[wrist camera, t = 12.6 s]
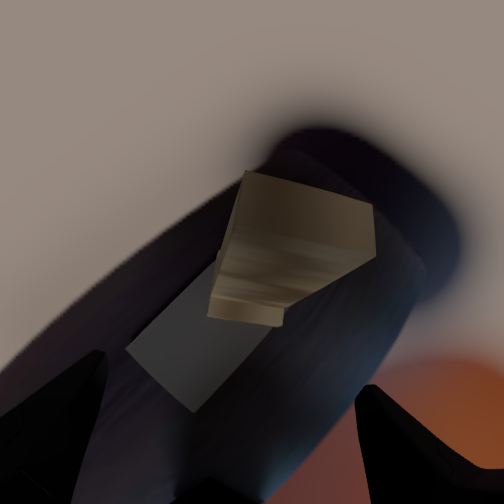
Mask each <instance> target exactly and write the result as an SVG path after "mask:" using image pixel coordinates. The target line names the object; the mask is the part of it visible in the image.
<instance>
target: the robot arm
mask: <svg viewBox="0 0 504 504" xmlns="http://www.w3.org/2000/svg"><path fill="white" fill-rule="evenodd" d="M108 373H109V366H108V359H107V353H106V352H105V351H102V350H98V349H93V350H92V351H90V352H89V353H88V354H86V355H85V356H83V357H82V358H81V359H79V360H78V361H77V362H75V363H74V364H72V365H71V366H70V367H68V368H67V369H66V370H64V371H63V372H61V373H60V374H59V375H57V376H56V377H55V378H53V379H52V380H50V381H49V382H48V383H46V384H45V385H44V386H42V387H41V388H40V389H38V390H37V391H35V392H34V393H33V394H31V395H30V396H29V397H27V398H26V399H25V400H23V401H22V403H19V404H18V405H16V406H15V407H14V408H12V409H11V410H10V411H8V412H7V413H5V414H4V415H2V416H1V417H0V504H71V500H72V496H73V492H74V489H75V485H76V481H77V478H78V474H79V471H80V468H81V464H82V461H83V458H84V455H85V452H86V449H87V446H88V443H89V440H90V437H91V434H92V431H93V428H94V425H95V422H96V420H97V417H98V414H99V410H100V406H101V402H102V397H103V393H104V389H105V385H106V381H107V378H108ZM355 412H356V421H357V430H358V438H359V443H360V447H361V452H362V457H363V462H364V467H365V473H366V478H367V483H368V489H369V495H370V501H371V504H504V469H483V468H480V467H478V466H476V465H474V464H473V463H471V462H470V461H468V460H467V459H465V458H464V457H462V456H461V455H460V454H458V453H457V452H455V451H454V450H452V449H451V448H450V447H448V446H447V445H446V444H445V443H443V442H442V441H441V440H440V439H439V438H437V437H436V436H435V435H434V434H433V433H431V432H430V431H429V430H428V429H427V428H426V427H424V426H423V425H422V424H421V423H420V422H419V421H417V420H416V419H415V418H414V417H413V416H411V415H410V414H409V413H408V412H407V411H406V410H405V409H403V408H402V407H401V406H400V405H399V404H398V403H396V402H395V401H394V400H393V399H392V398H391V397H389V396H388V395H387V394H386V393H385V392H384V391H382V390H381V389H380V388H379V387H378V386H377V385H374V384H370V385H365V386H364V387H363V389H362V390H361V391H360V393H359V394H358V395H357V397H356V398H355ZM209 481H212V482H213V483H212V484H208V483H207V482H209ZM171 504H257V503H255V502H253V501H251V500H250V499H248V498H246V497H244V496H242V495H241V494H239V493H237V492H235V491H234V490H232V489H230V488H229V487H227V486H225V485H224V484H222V483H220V482H219V481H217V480H216V479H214V478H212V477H207V478H205V479H204V480H203V481H202V482H201V483H200V484H199V485H197V486H196V487H195V488H194V489H188V490H187V491H186V492H185V493H184V494H182V495H181V496H180V497H179V498H177V499H176V500H175V501H174V502H173V503H171Z"/></svg>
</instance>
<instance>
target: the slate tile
mask: <svg viewBox="0 0 504 504" xmlns="http://www.w3.org/2000/svg"><path fill="white" fill-rule="evenodd" d="M215 264H216V260H215V261H214V262H213V263H212V264H211V265H210V266H209V267H207V268H206V269H205V270H204V271H203V272H202V273H201V274H200V275H199V276H198V277H197V278H196V279H195V280H194V281H193V282H192V283H191V284H190V285H189V286H188V287H187V288H186V289H185V290H184V291H183V292H182V293H181V294H180V295H179V296H178V297H177V298H176V299H175V300H174V301H173V302H172V303H171V304H170V305H169V306H168V307H167V308H166V309H164V310H163V311H162V312H161V313H160V314H159V315H158V316H157V317H156V318H155V319H154V320H153V321H152V322H151V323H150V324H149V325H148V326H147V327H146V328H145V329H144V330H143V331H142V332H141V333H140V334H139V335H138V336H137V337H136V338H135V339H134V340H133V341H132V342H131V343H130V344H129V345H128V346H127V347H126V348H125V349H126V350H127V351H128V352H129V353H130V354H131V355H132V357H133V358H134V359H135V360H136V361H137V362H138V363H139V364H140V365H141V366H142V367H143V368H144V369H145V370H146V371H147V372H148V373H149V374H150V375H151V376H152V377H153V378H154V379H155V380H156V381H157V382H158V383H160V384H161V385H162V386H163V387H164V388H165V389H166V390H167V391H168V392H169V393H170V394H171V395H173V396H174V397H175V398H176V399H177V400H178V401H179V402H180V403H182V404H183V405H184V406H185V407H186V408H187V409H189V410H190V411H191V412H192V413H193V414H194V413H195V412H196V411H197V410H198V409H199V408H200V407H201V406H202V405H203V404H204V403H205V402H206V401H207V400H208V398H209V397H210V396H211V395H212V394H213V393H214V392H215V391H216V390H217V389H218V388H219V387H220V386H221V385H222V384H223V383H224V382H225V381H226V380H227V378H228V377H229V376H230V375H231V374H232V373H233V372H234V371H235V370H236V369H237V368H238V367H239V365H240V364H241V363H242V362H243V361H244V360H245V359H246V358H247V357H248V355H249V354H250V353H251V352H252V351H253V350H254V349H255V348H256V346H257V345H258V344H259V343H260V342H261V341H262V340H263V338H264V337H265V336H266V335H267V334H268V333H269V331H270V330H271V329H272V328H273V326H265V325H258V324H252V323H245V322H239V321H232V320H226V319H220V318H215V317H209V316H207V312H208V306H209V299H210V293H211V287H212V282H213V276H214V270H215ZM290 307H291V305H290V306H288V307H286V308H284V314H285V313H286V311H287V310H288V309H289V308H290ZM284 314H283V315H284Z"/></svg>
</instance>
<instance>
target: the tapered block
mask: <svg viewBox="0 0 504 504" xmlns="http://www.w3.org/2000/svg"><path fill="white" fill-rule="evenodd" d="M374 257H376V244H375V230H374V218H373V208H372V205H371V204H368V203H365V202H362V201H359V200H356V199H352V198H349V197H346V196H343V195H339V194H336V193H332V192H329V191H325V190H322V189H318V188H315V187H311V186H307V185H304V184H300V183H296V182H292V181H288V180H284V179H280V178H276V177H272V176H268V175H264V174H260V173H255V172H251V171H246V170H245V173H244V176H243V179H242V182H241V185H240V188H239V191H238V195H237V198H236V201H235V204H234V207H233V211H232V214H231V217H230V220H229V223H228V227H227V230H226V233H225V237H224V240H223V243H222V247H221V250H218V254H217V259H216V264H215V270H214V276H213V282H212V287H211V293H210V299H209V306H208V312H207V316H209V317H215V318H220V319H226V320H232V321H239V322H245V323H252V324H258V325H265V326H273V327H279V326H282V324H283V314H284V308H286V307H288V306H290V305H292V304H294V303H296V302H298V301H299V300H301V299H303V298H305V297H307V296H309V295H310V294H312V293H314V292H316V291H318V290H319V289H321V288H323V287H325V286H326V285H328V284H330V283H332V282H333V281H335V280H337V279H339V278H340V277H342V276H344V275H346V274H347V273H349V272H351V271H352V270H354V269H356V268H357V267H359V266H361V265H362V264H364V263H366V262H367V261H369V260H371V259H372V258H374Z"/></svg>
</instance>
